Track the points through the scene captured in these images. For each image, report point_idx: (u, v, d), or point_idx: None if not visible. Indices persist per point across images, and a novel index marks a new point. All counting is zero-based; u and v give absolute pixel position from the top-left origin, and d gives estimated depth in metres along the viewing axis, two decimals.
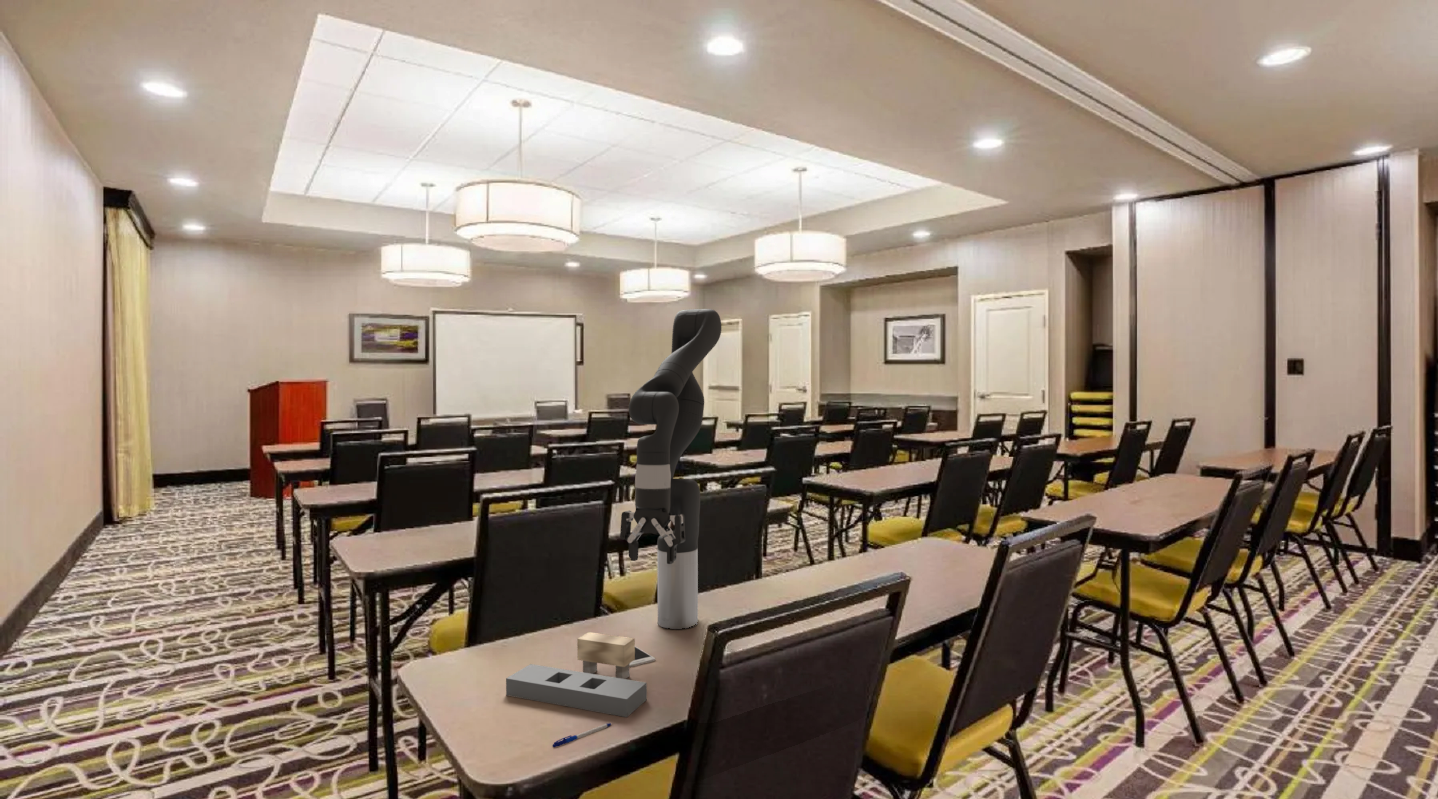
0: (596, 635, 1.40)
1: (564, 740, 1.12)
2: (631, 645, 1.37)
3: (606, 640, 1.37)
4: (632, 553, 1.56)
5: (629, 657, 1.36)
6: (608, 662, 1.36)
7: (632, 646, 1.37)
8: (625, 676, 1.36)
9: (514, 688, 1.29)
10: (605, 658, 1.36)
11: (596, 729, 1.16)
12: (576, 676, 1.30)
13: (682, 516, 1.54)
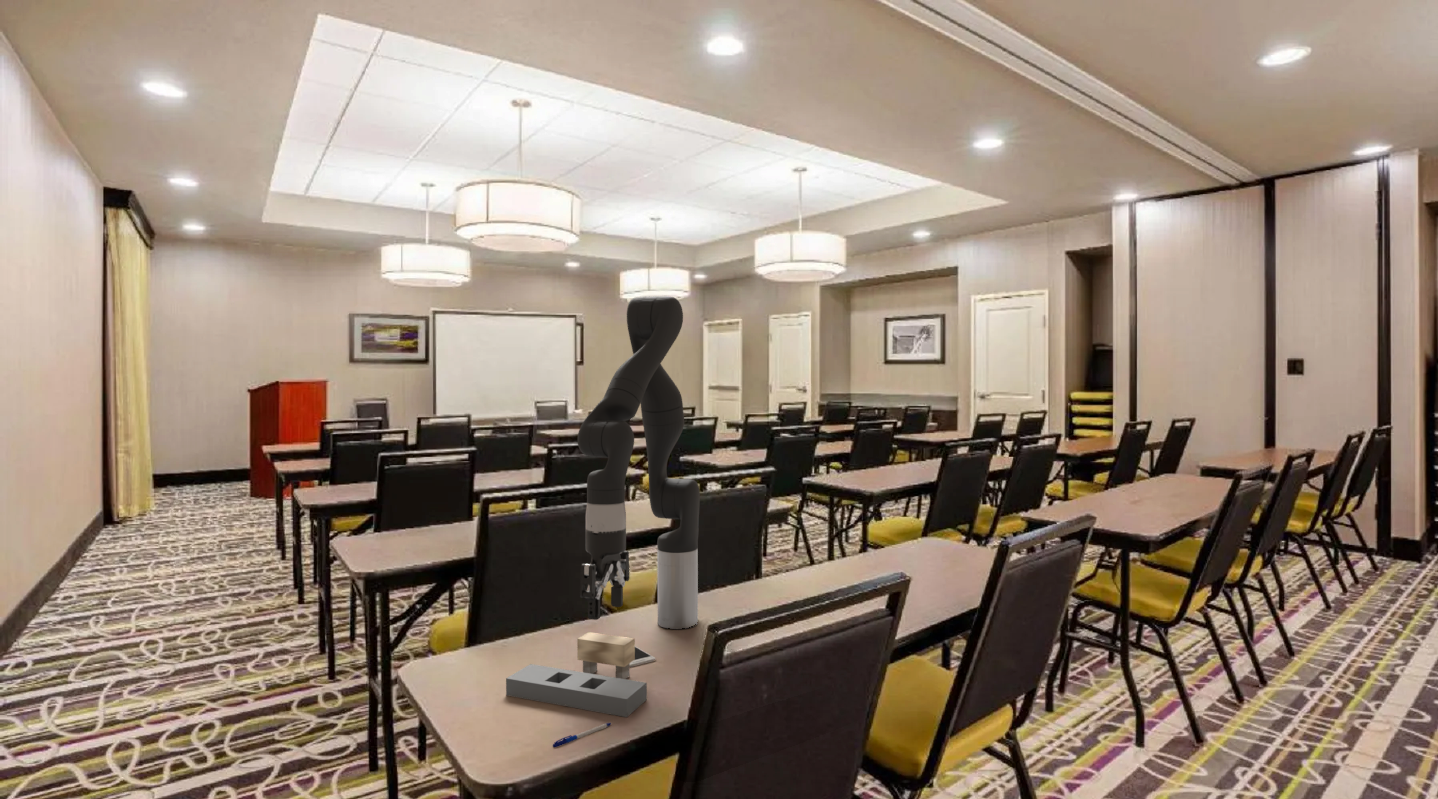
0: (596, 635, 1.40)
1: (564, 740, 1.12)
2: (631, 645, 1.37)
3: (606, 640, 1.37)
4: (599, 610, 1.33)
5: (629, 657, 1.36)
6: (608, 662, 1.36)
7: (632, 646, 1.37)
8: (625, 676, 1.36)
9: (514, 688, 1.29)
10: (605, 658, 1.36)
11: (596, 729, 1.16)
12: (576, 676, 1.30)
13: None
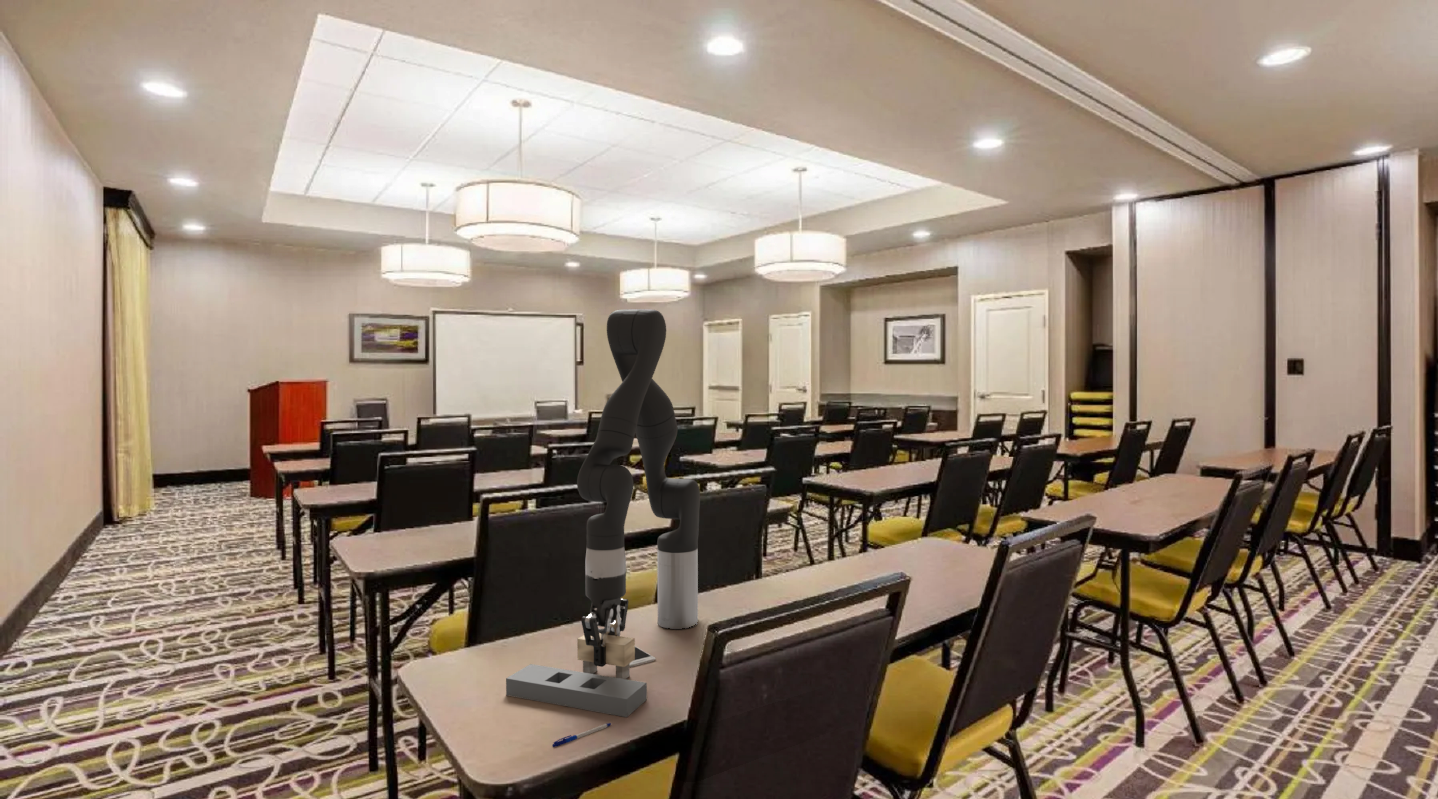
0: None
1: (564, 740, 1.12)
2: (631, 645, 1.37)
3: (606, 640, 1.37)
4: (605, 657, 1.36)
5: (629, 656, 1.36)
6: (608, 662, 1.36)
7: (632, 646, 1.37)
8: (625, 676, 1.37)
9: (514, 688, 1.29)
10: None
11: (596, 729, 1.16)
12: (576, 676, 1.30)
13: None
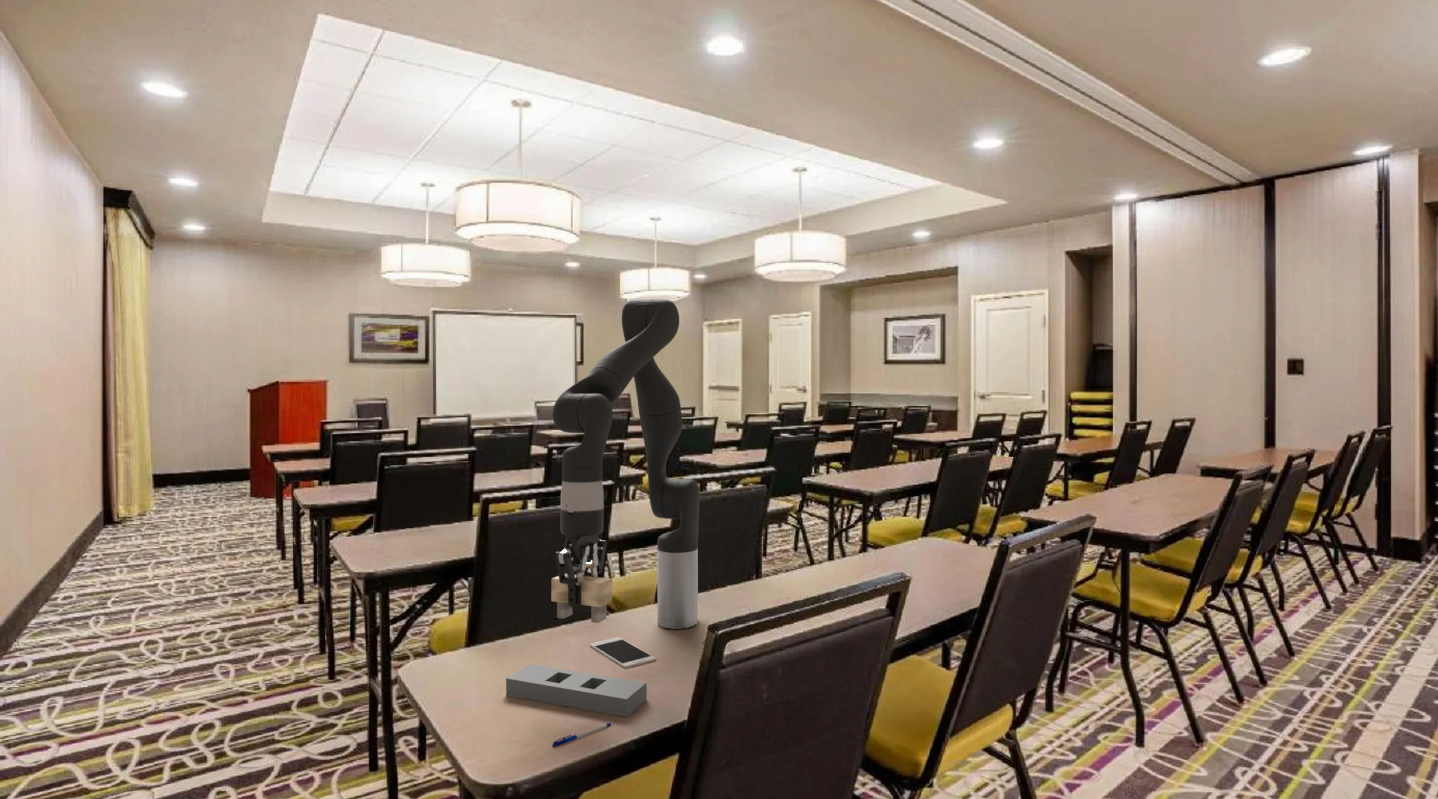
0: None
1: (564, 740, 1.12)
2: (608, 585, 1.29)
3: (582, 579, 1.29)
4: (580, 597, 1.27)
5: (606, 597, 1.28)
6: (583, 602, 1.27)
7: (609, 586, 1.29)
8: (602, 618, 1.28)
9: (514, 688, 1.29)
10: None
11: (596, 729, 1.16)
12: (576, 676, 1.30)
13: None
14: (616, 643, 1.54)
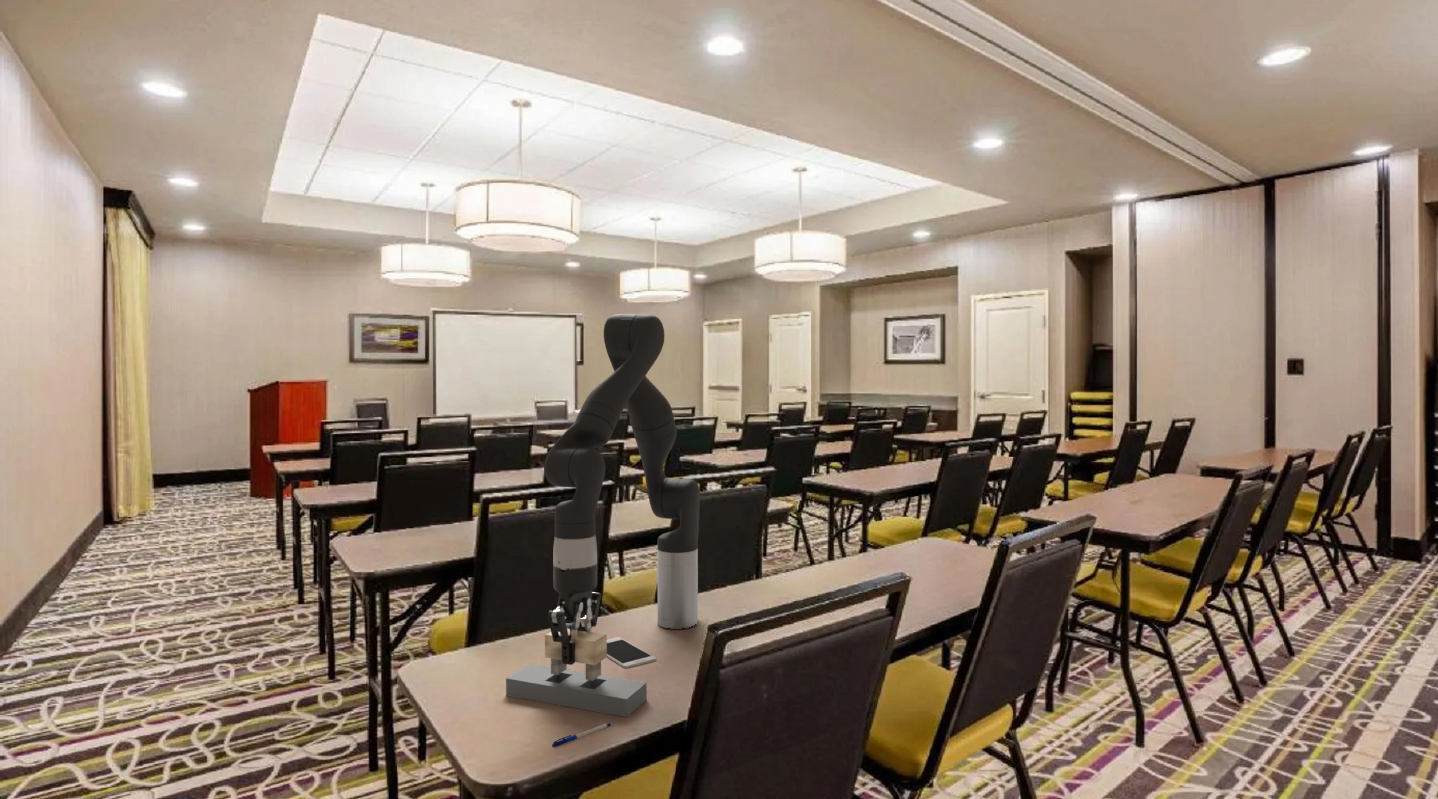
0: None
1: (564, 740, 1.12)
2: (602, 642, 1.27)
3: (576, 636, 1.27)
4: (574, 654, 1.26)
5: (600, 654, 1.26)
6: (577, 660, 1.26)
7: (604, 643, 1.27)
8: (596, 675, 1.27)
9: (514, 688, 1.29)
10: None
11: (596, 729, 1.16)
12: (576, 676, 1.30)
13: None
14: (616, 643, 1.54)
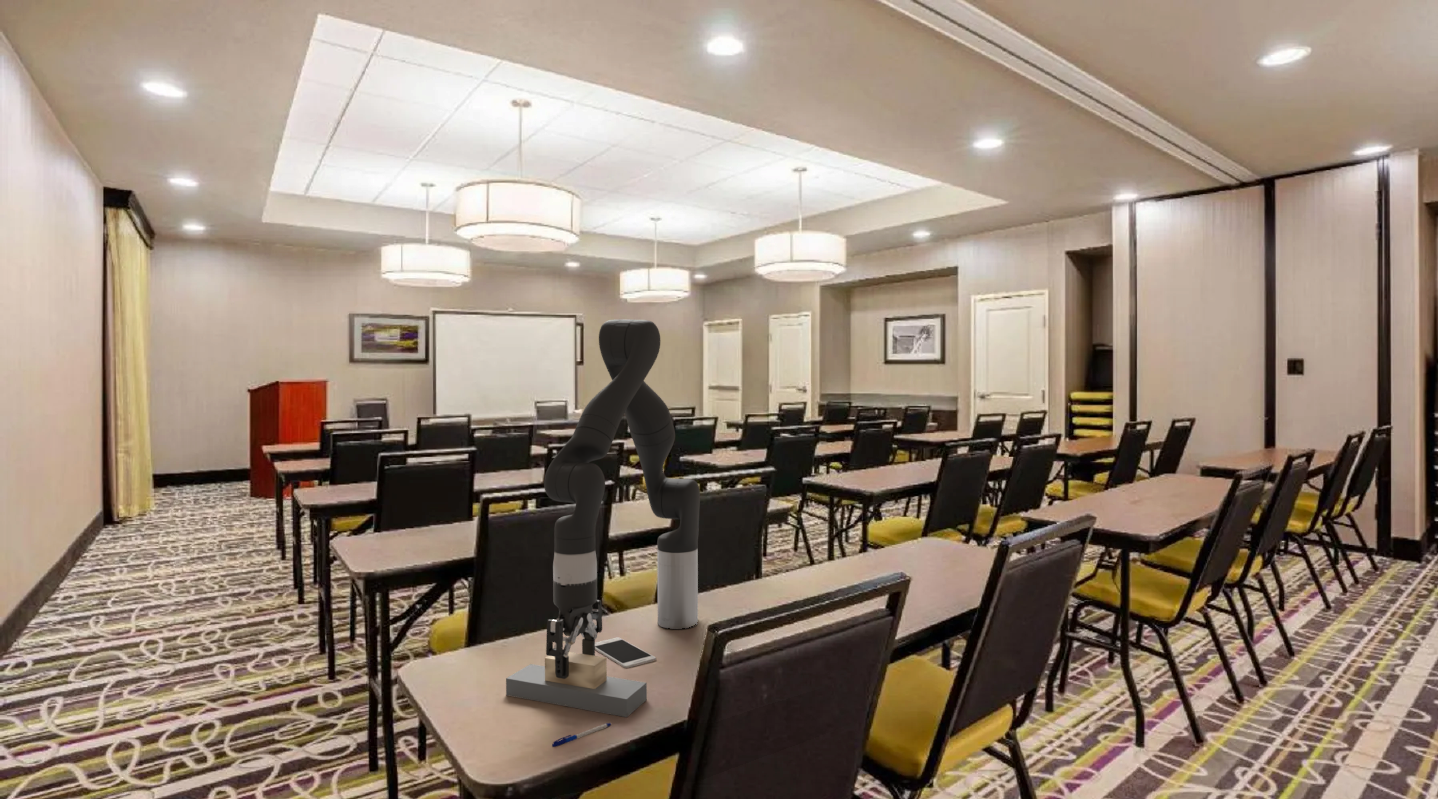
0: None
1: (564, 740, 1.12)
2: (602, 665, 1.27)
3: (576, 659, 1.27)
4: (568, 668, 1.24)
5: (600, 677, 1.26)
6: (577, 683, 1.26)
7: (603, 666, 1.27)
8: None
9: (514, 688, 1.29)
10: (574, 680, 1.26)
11: (596, 729, 1.16)
12: None
13: None
14: (616, 643, 1.54)
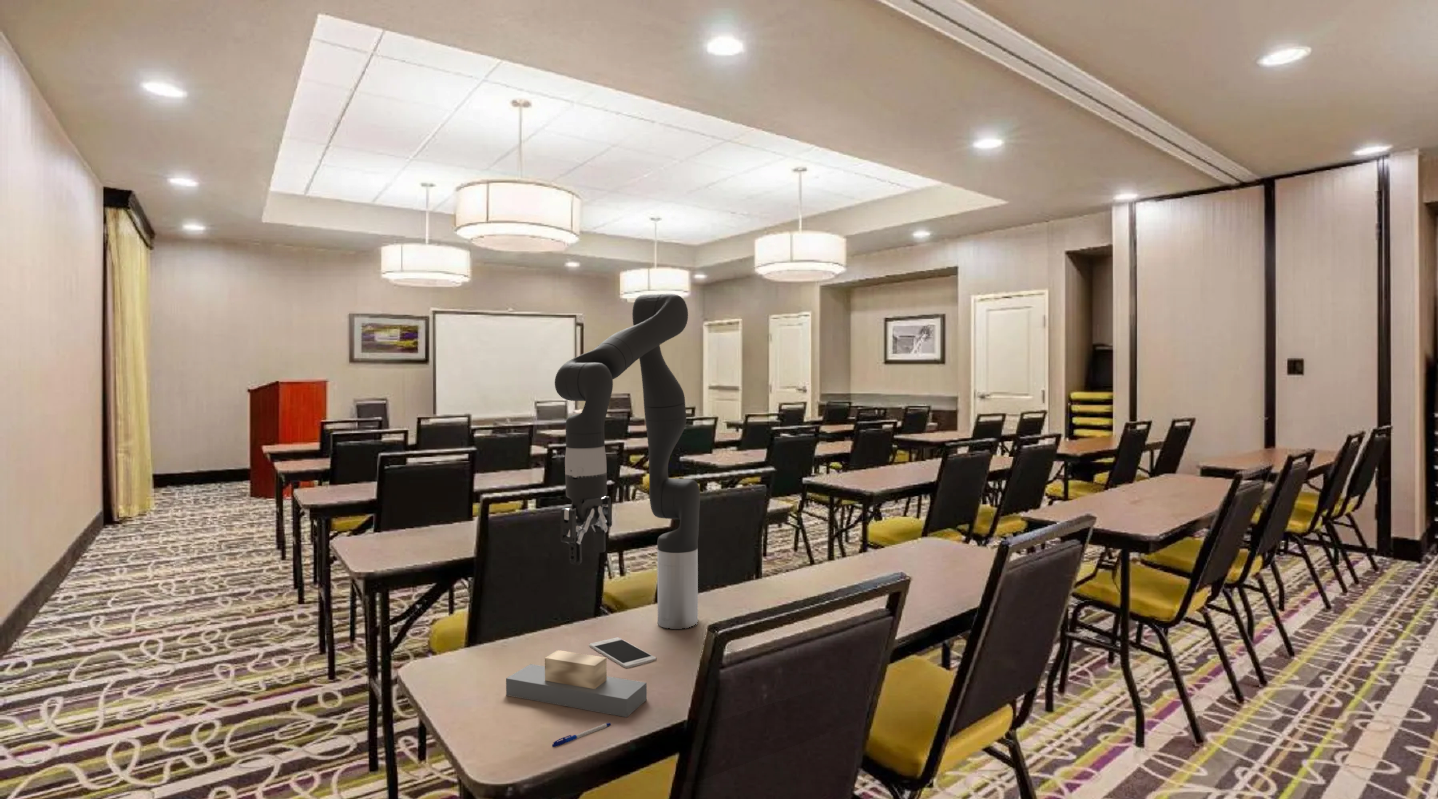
0: (565, 654, 1.30)
1: (564, 740, 1.12)
2: (602, 665, 1.27)
3: (576, 659, 1.27)
4: (581, 555, 1.32)
5: (600, 677, 1.26)
6: (577, 683, 1.26)
7: (603, 666, 1.27)
8: None
9: (514, 688, 1.29)
10: (574, 680, 1.26)
11: (596, 729, 1.16)
12: None
13: None
14: (616, 643, 1.54)
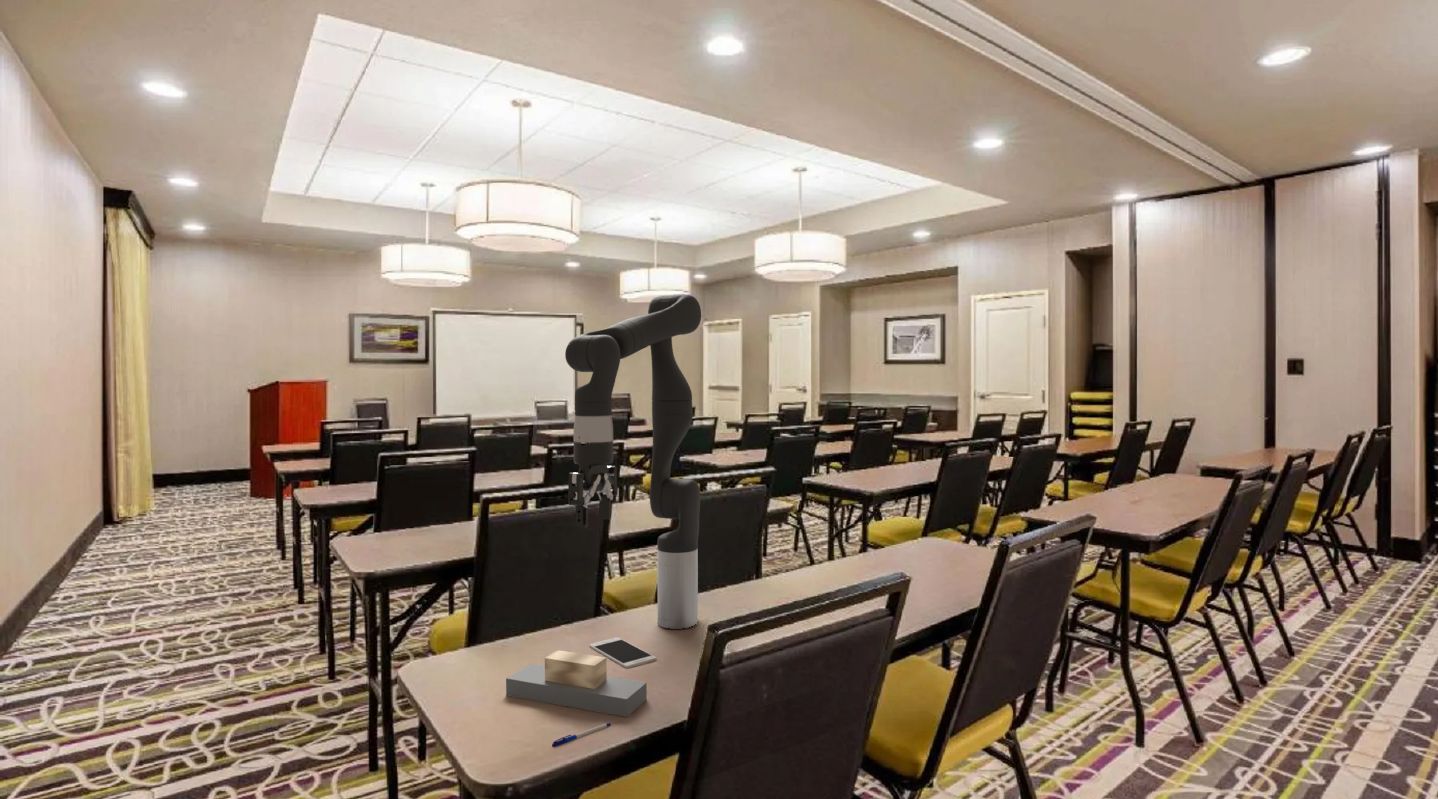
0: (565, 654, 1.30)
1: (563, 739, 1.12)
2: (602, 665, 1.27)
3: (576, 659, 1.27)
4: (587, 518, 1.37)
5: (600, 677, 1.26)
6: (577, 683, 1.26)
7: (603, 666, 1.27)
8: None
9: (514, 688, 1.29)
10: (574, 680, 1.26)
11: (596, 729, 1.16)
12: None
13: None
14: (616, 643, 1.54)
